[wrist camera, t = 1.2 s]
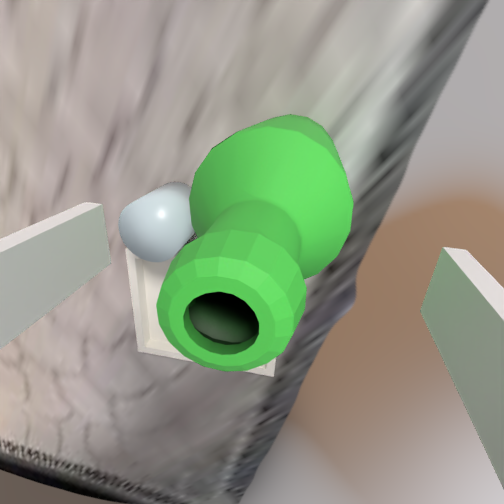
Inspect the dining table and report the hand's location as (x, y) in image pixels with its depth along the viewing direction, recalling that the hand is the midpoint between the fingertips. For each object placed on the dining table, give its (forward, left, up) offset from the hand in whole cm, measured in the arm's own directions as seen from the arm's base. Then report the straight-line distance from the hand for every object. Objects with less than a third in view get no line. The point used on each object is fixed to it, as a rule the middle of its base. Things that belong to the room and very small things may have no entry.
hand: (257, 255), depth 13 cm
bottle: (0, 0, -21) cm, 21 cm away
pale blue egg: (-12, -6, -21) cm, 24 cm away
